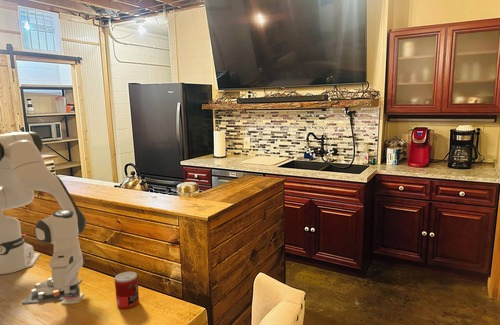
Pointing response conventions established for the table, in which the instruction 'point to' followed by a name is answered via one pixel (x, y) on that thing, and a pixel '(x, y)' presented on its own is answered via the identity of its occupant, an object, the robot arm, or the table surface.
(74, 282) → the pill bottle
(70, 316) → the table surface
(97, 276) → the table surface
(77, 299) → the pad
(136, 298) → the canned food
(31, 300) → the gray square plate
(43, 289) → the sprocket
